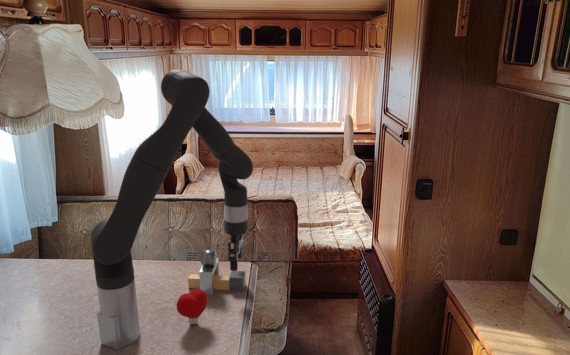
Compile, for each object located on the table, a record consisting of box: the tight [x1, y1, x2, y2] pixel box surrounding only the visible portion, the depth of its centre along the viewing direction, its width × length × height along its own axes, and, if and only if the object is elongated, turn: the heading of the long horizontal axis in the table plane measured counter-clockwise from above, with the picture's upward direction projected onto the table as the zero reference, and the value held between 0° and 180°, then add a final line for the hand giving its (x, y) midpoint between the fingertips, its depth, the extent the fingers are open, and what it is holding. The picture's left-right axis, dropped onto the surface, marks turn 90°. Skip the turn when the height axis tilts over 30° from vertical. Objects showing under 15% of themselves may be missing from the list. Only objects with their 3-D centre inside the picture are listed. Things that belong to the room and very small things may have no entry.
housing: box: [198, 249, 220, 296], centre depth 139 cm, size 4×10×13 cm, turn 176°
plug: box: [187, 270, 246, 293], centre depth 140 cm, size 18×4×5 cm, turn 86°
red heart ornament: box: [175, 288, 209, 326], centre depth 120 cm, size 9×7×10 cm
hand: (236, 263), depth 138 cm, fingers open, 8 cm apart
